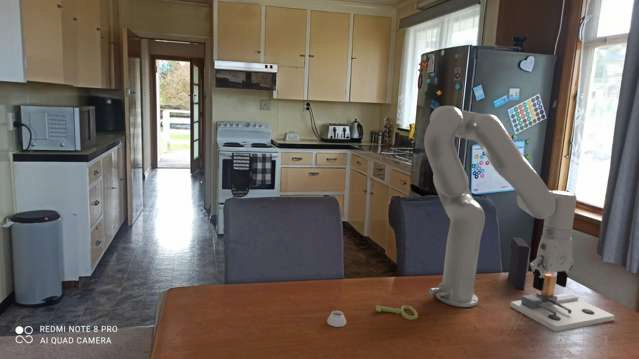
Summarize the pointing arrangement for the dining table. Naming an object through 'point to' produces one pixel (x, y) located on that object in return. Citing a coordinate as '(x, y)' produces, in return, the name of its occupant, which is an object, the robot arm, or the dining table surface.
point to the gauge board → (561, 312)
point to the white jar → (336, 319)
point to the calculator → (519, 263)
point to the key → (399, 311)
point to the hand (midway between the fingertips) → (549, 287)
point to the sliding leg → (550, 291)
